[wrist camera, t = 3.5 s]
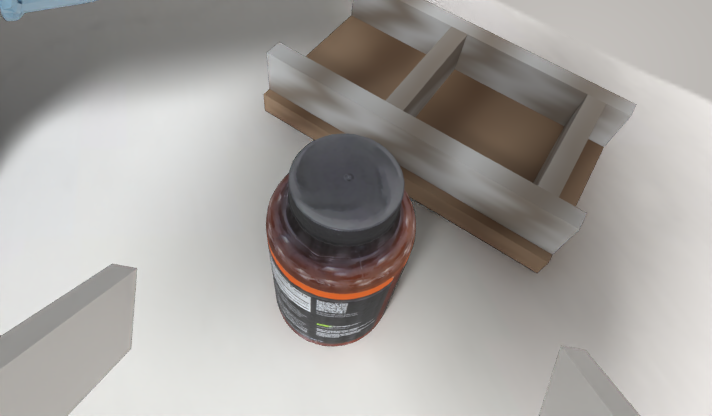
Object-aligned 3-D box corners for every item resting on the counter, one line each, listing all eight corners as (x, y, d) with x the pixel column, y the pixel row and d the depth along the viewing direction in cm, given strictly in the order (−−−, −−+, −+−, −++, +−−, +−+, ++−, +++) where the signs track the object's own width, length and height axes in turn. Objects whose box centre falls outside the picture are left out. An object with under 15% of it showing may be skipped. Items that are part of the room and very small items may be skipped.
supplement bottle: (357, 230, 28) (387, 92, 18) (405, 321, 25) (470, 218, 16) (259, 267, 26) (235, 136, 16) (300, 369, 24) (301, 286, 14)
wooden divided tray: (265, 110, 32) (260, 57, 28) (362, 20, 37) (369, -34, 34) (537, 273, 28) (575, 238, 24) (599, 143, 33) (639, 98, 29)
